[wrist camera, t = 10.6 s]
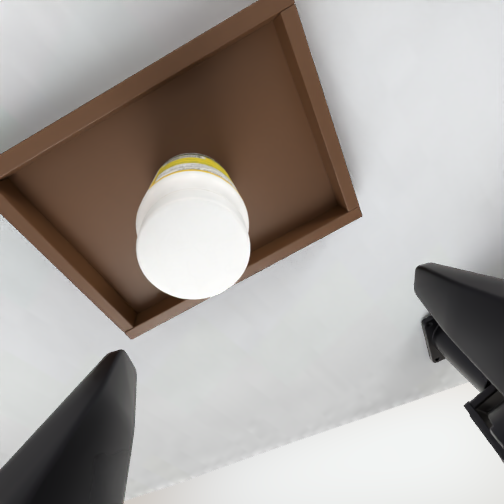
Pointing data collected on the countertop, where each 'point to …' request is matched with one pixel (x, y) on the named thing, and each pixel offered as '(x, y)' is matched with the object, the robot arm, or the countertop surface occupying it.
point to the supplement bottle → (192, 229)
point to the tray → (180, 142)
